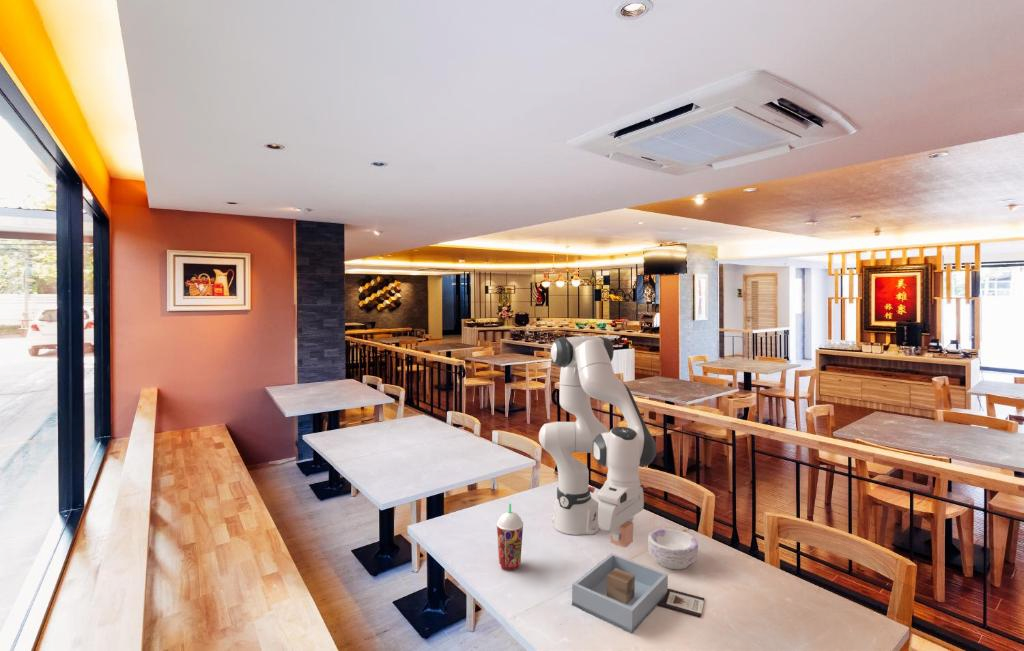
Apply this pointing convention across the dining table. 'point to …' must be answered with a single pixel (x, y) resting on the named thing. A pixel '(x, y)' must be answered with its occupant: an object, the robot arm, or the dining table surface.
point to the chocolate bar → (682, 603)
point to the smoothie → (509, 540)
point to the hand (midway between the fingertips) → (621, 535)
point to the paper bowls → (673, 548)
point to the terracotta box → (624, 534)
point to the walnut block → (620, 586)
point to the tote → (594, 600)
